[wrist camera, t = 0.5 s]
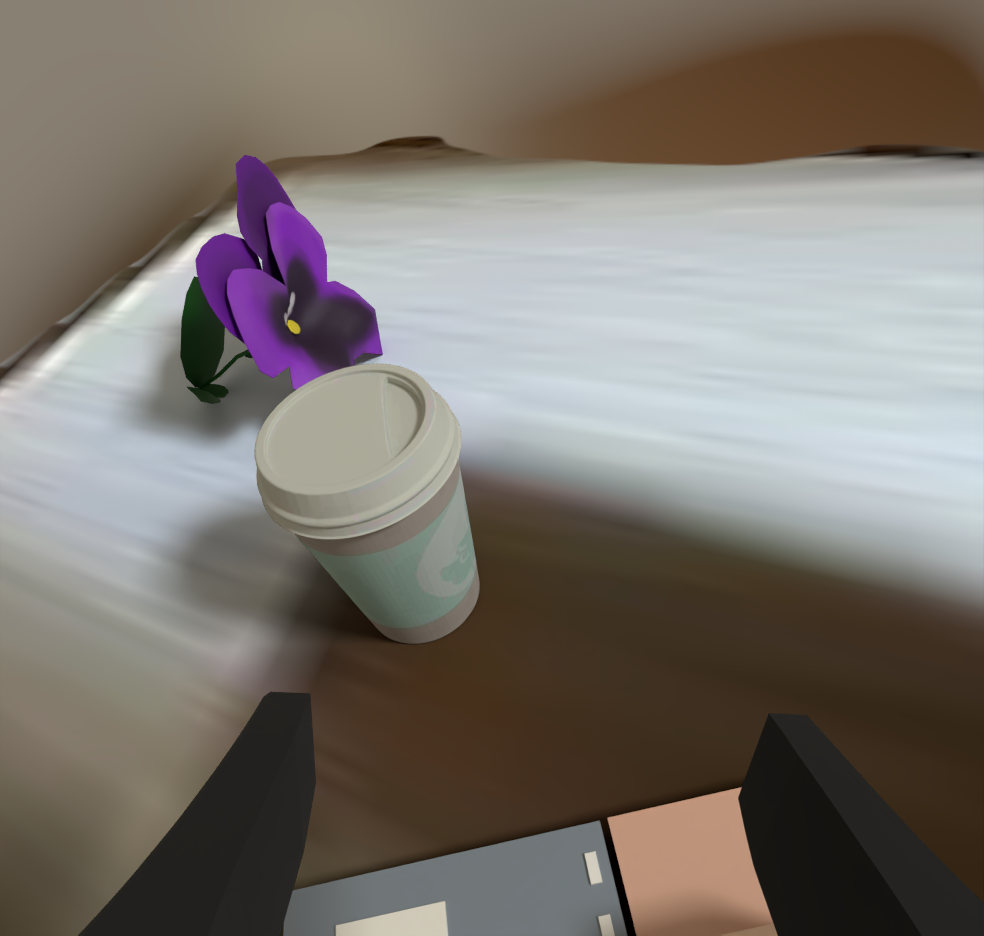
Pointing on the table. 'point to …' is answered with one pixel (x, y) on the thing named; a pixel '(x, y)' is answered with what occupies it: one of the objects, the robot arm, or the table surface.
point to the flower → (270, 295)
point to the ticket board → (475, 893)
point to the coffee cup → (375, 495)
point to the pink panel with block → (690, 869)
